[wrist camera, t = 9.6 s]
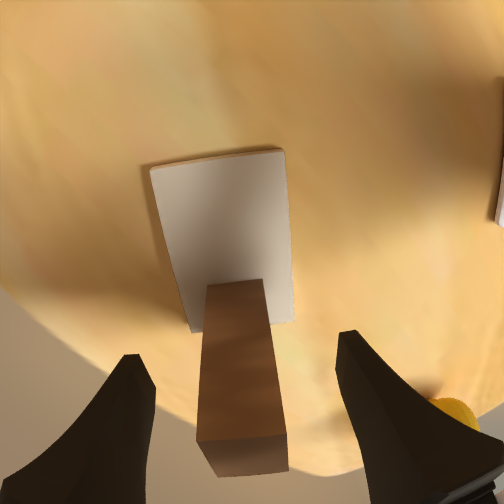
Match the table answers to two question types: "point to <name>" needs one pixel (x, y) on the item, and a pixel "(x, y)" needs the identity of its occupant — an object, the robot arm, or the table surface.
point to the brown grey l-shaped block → (233, 297)
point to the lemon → (457, 411)
